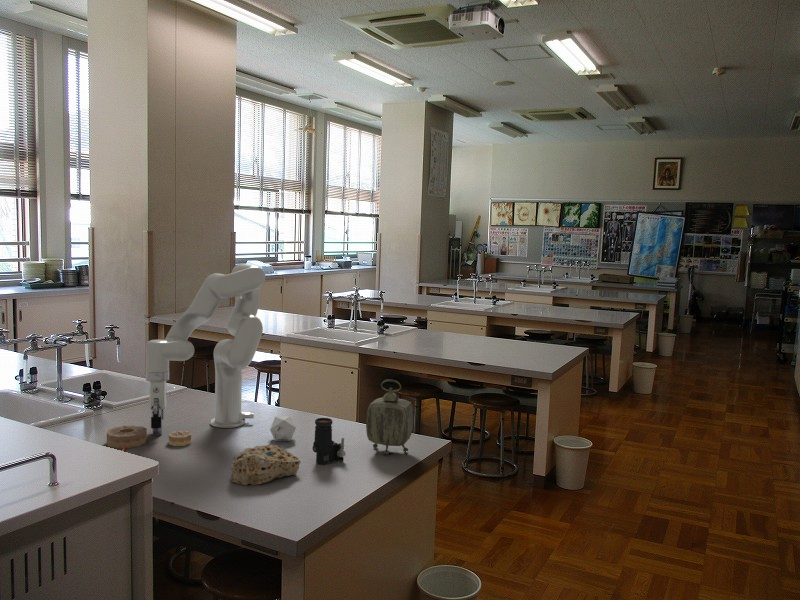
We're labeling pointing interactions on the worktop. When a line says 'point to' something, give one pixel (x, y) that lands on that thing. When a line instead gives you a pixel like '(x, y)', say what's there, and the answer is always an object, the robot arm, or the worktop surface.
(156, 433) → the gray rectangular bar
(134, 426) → the bead
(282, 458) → the rock
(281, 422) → the die
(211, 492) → the worktop surface
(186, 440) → the beige short cylinder
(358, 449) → the worktop surface
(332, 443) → the scope
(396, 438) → the tabletop clock
